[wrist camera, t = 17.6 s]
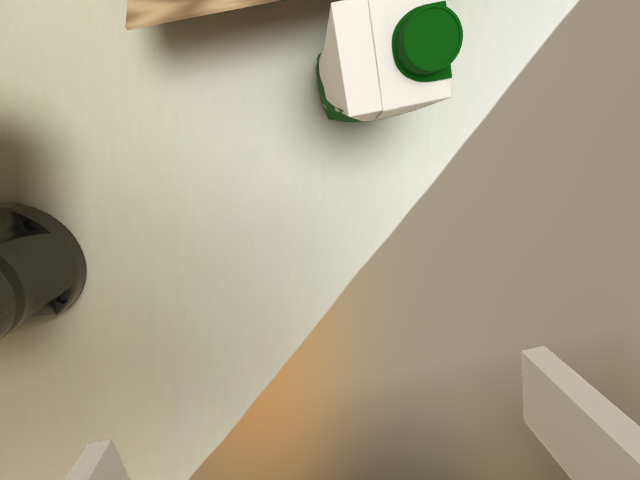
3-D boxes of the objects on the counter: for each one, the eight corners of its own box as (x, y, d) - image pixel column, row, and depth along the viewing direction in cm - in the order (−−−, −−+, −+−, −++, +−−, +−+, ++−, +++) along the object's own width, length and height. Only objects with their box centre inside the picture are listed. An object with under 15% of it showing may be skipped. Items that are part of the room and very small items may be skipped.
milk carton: (395, 114, 45) (473, 102, 26) (321, 128, 45) (344, 127, 26) (385, 33, 42) (463, -47, 23) (306, 49, 42) (320, -19, 23)
